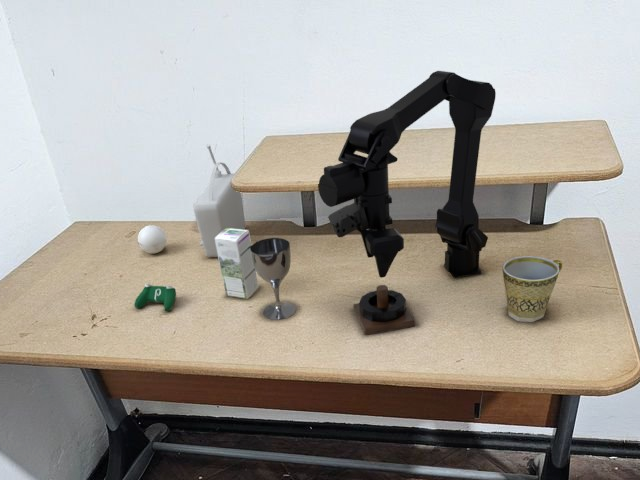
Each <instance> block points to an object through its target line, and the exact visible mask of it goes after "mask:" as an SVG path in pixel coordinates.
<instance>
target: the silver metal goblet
mask: <svg viewBox="0 0 640 480" xmlns="http://www.w3.org/2000/svg"><path fill="white" fill-rule="evenodd" d="M251 245H252V246H251V248H250V251H251V257H252V261H253V264H254V267H255V270H256V274H257V275H258V277H260V278H261V280H263V281H264V282H266V283H267V284H269V285H270V286H271V288H272V290H273V293H274V297H275V302H274V303H271V304H268V305H267V306H265V307H264V309H262V315H263V317H264V318H266V319H269V320H275V321H276V320H277V321H278V320H284V319H288V318H289V317H291V316H293V315H294V314H295V313H296V311H297V307H296V306H295V305H294V304H292V303H291V302H287V301H280V300H281V299H280V286H281V283H282V282H283V280H284V279H285V278H286V277H287V275H288V274H289V272H290V270H291V263H292V252H291V243H290V242H289V240H287V239H286V238H282V237H269V238H263V239H260V240H258V241H255V242H254V243H253V244H251Z"/></svg>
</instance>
